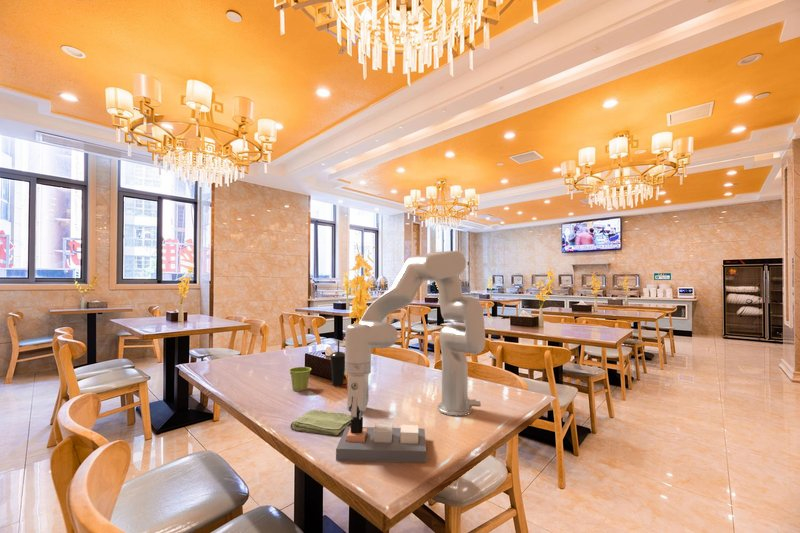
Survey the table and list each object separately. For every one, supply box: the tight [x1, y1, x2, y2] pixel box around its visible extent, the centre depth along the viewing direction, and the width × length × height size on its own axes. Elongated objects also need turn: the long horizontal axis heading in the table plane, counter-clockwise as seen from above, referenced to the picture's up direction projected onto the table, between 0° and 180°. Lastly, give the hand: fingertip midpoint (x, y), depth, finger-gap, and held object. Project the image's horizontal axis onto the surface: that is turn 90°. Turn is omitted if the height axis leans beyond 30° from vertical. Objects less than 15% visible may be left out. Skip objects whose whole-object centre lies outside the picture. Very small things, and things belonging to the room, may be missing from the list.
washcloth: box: [289, 409, 351, 437], centre depth 114 cm, size 13×18×3 cm
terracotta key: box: [347, 428, 367, 442], centre depth 99 cm, size 5×5×3 cm
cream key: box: [400, 424, 419, 444], centre depth 98 cm, size 5×5×3 cm
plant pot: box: [288, 366, 312, 392], centre depth 151 cm, size 9×9×9 cm
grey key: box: [374, 423, 394, 443], centre depth 99 cm, size 5×5×3 cm
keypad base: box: [335, 426, 427, 463], centre depth 99 cm, size 24×14×3 cm, turn 88°
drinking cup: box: [329, 340, 345, 387], centre depth 159 cm, size 8×8×20 cm
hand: (356, 431), depth 99 cm, fingers closed
